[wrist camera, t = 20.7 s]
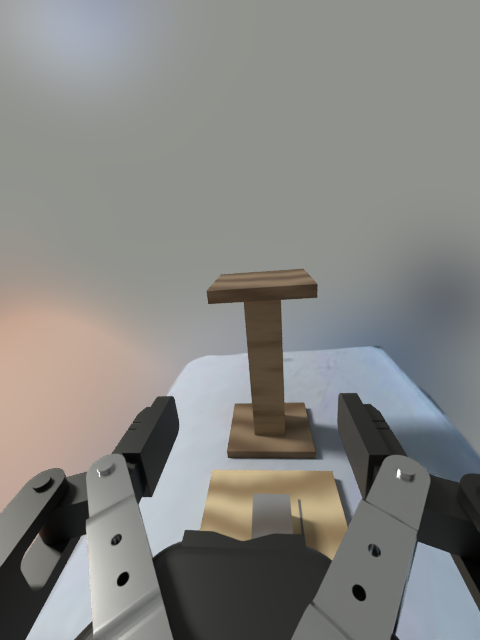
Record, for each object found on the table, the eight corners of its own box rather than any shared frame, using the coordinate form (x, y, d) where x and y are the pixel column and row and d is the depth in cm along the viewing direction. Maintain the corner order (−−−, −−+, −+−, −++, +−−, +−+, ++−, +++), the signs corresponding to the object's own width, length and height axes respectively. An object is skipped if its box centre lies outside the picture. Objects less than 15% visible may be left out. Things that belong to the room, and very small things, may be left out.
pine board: (213, 476, 46) (212, 469, 46) (331, 477, 44) (332, 470, 43) (119, 943, 16) (113, 939, 16) (477, 1021, 14) (484, 1019, 13)
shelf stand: (235, 409, 63) (221, 274, 52) (304, 408, 61) (303, 268, 51) (227, 457, 50) (206, 291, 39) (315, 458, 48) (317, 283, 37)
